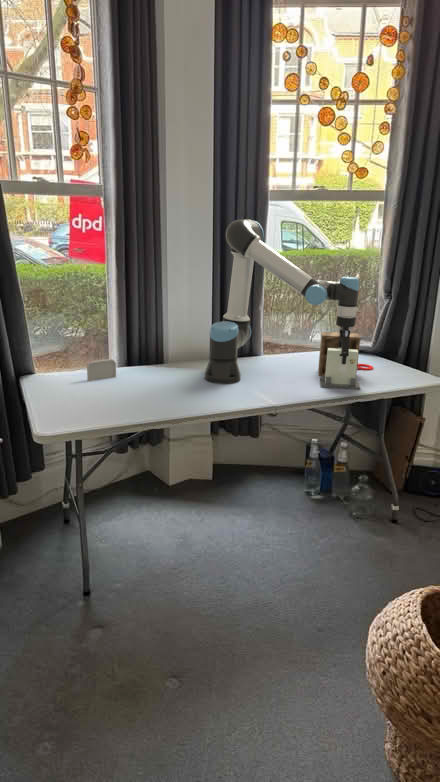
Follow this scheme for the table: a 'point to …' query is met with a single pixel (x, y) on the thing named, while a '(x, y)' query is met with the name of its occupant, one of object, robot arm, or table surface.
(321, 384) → the grey pegged base plate
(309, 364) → the table surface
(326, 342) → the cabinet
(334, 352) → the door panel
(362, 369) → the tow hook
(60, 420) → the table surface
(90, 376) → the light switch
